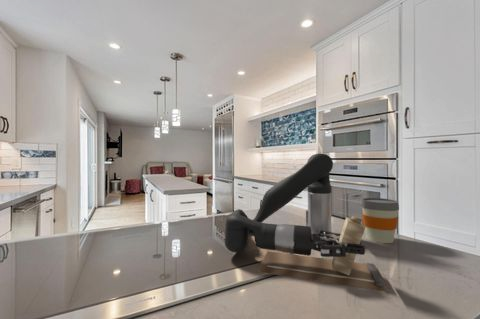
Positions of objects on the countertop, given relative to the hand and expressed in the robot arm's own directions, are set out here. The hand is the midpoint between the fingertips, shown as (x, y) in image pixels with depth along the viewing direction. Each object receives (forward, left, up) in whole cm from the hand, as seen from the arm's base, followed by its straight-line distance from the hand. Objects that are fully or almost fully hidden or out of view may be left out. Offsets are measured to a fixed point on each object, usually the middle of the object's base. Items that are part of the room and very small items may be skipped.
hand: (362, 246), depth 58 cm
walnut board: (-9, -6, -8) cm, 14 cm away
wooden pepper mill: (-4, -3, -6) cm, 8 cm away
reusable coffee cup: (-13, +37, -9) cm, 40 cm away
